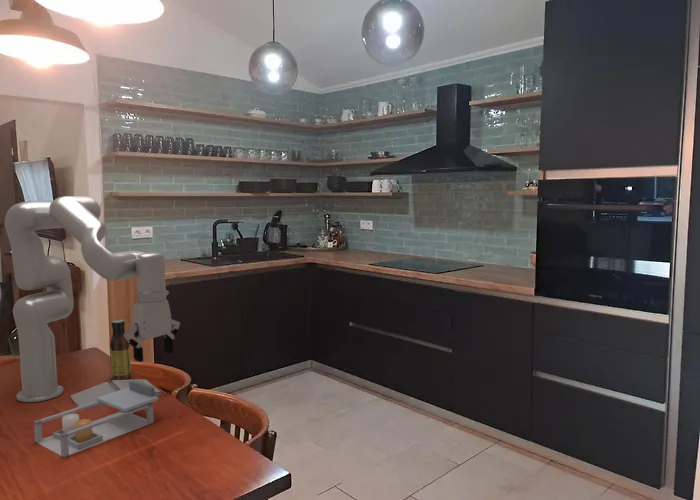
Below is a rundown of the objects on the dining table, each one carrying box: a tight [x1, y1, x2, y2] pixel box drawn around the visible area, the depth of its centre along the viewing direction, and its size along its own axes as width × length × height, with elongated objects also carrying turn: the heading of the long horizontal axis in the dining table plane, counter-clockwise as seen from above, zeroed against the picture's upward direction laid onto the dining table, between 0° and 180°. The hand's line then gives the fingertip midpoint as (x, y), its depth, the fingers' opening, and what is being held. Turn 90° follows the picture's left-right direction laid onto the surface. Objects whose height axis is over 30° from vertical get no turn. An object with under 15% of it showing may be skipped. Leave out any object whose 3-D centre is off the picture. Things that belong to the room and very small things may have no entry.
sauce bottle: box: [109, 319, 132, 380], centre depth 183 cm, size 6×6×20 cm
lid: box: [96, 379, 160, 412], centre depth 147 cm, size 13×10×3 cm
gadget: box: [70, 378, 162, 411], centre depth 167 cm, size 23×15×4 cm, turn 128°
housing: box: [33, 401, 155, 458], centre depth 140 cm, size 14×24×6 cm, turn 145°
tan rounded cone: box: [75, 418, 93, 443], centre depth 134 cm, size 4×4×5 cm
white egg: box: [61, 413, 80, 435], centre depth 137 cm, size 4×4×5 cm
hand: (154, 356), depth 153 cm, fingers open, 9 cm apart
